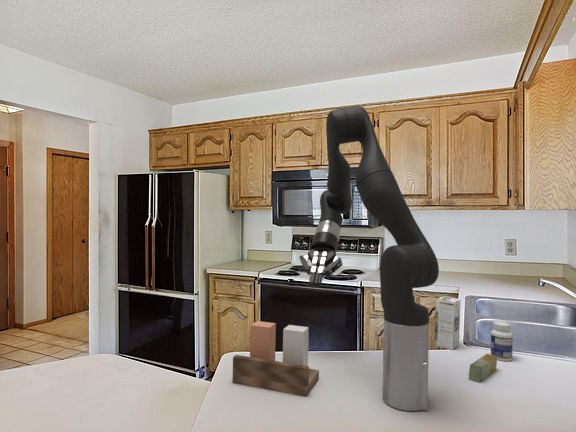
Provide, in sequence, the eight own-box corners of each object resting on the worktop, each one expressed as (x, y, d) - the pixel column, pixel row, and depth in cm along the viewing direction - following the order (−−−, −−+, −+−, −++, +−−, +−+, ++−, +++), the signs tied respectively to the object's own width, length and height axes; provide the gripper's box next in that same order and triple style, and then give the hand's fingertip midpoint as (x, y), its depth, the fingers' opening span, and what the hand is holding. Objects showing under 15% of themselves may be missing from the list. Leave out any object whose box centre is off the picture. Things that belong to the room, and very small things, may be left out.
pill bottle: (492, 353, 113) (492, 319, 113) (513, 357, 110) (514, 323, 110) (489, 358, 109) (489, 324, 109) (511, 363, 105) (511, 327, 105)
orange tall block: (275, 363, 96) (275, 323, 96) (268, 369, 92) (269, 327, 92) (256, 360, 98) (257, 321, 98) (249, 366, 94) (250, 325, 94)
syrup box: (440, 341, 123) (441, 295, 123) (459, 345, 119) (460, 298, 119) (433, 346, 118) (434, 298, 118) (454, 350, 115) (455, 301, 115)
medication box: (479, 384, 92) (480, 367, 92) (468, 380, 94) (469, 364, 94) (496, 370, 101) (497, 355, 101) (485, 367, 103) (486, 352, 103)
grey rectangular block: (307, 368, 93) (308, 327, 93) (302, 375, 90) (303, 331, 89) (288, 365, 95) (289, 324, 95) (282, 371, 91) (283, 329, 91)
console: (318, 378, 93) (319, 353, 93) (306, 396, 84) (306, 368, 84) (251, 367, 100) (251, 343, 100) (232, 382, 90) (232, 356, 90)
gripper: (302, 229, 117) (288, 276, 106) (346, 231, 113) (336, 279, 101) (307, 246, 122) (294, 292, 111) (349, 248, 118) (340, 296, 106)
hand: (314, 286), depth 106 cm, fingers closed
